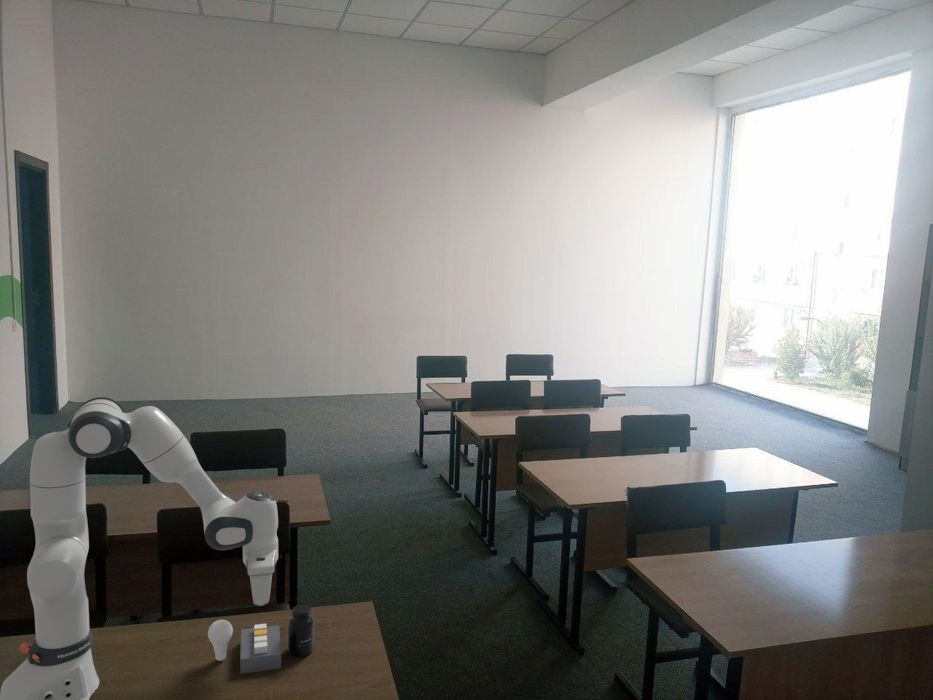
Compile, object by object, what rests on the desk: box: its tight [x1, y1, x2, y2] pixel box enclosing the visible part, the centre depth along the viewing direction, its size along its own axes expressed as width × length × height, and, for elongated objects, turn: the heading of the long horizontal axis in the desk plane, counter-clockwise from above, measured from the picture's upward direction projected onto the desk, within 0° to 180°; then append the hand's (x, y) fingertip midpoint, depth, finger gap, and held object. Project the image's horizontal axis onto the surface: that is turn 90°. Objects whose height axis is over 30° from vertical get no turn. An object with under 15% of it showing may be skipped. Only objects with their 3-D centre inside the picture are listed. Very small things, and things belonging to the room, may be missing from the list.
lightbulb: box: [207, 619, 234, 662], centre depth 182 cm, size 6×6×11 cm
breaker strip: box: [239, 622, 282, 674], centre depth 189 cm, size 22×10×6 cm, turn 17°
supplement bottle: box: [287, 604, 315, 658], centre depth 188 cm, size 7×7×12 cm
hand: (261, 603), depth 183 cm, fingers closed
